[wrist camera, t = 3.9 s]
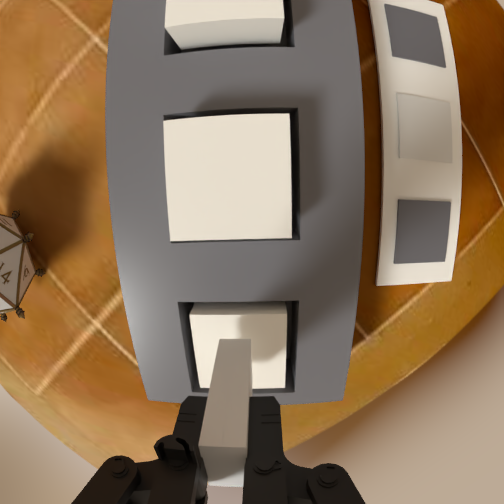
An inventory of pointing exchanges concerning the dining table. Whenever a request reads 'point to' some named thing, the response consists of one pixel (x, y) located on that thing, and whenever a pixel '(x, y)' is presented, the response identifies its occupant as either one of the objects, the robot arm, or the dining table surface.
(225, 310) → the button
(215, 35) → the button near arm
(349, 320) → the button board
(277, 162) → the middle button
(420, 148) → the pattern card
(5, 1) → the dining table surface
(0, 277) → the game die
